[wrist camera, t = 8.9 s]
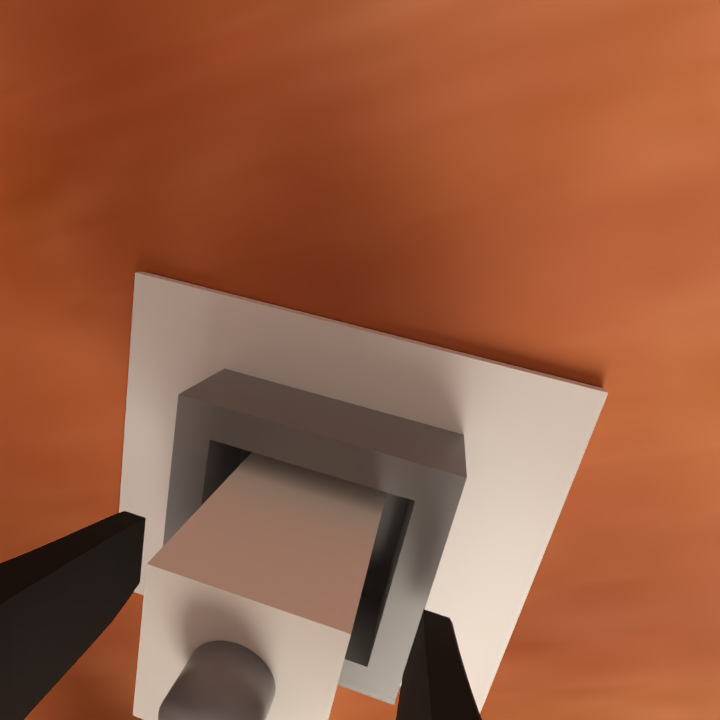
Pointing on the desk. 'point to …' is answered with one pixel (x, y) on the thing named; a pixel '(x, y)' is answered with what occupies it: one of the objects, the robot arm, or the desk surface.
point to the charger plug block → (256, 597)
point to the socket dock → (360, 456)
